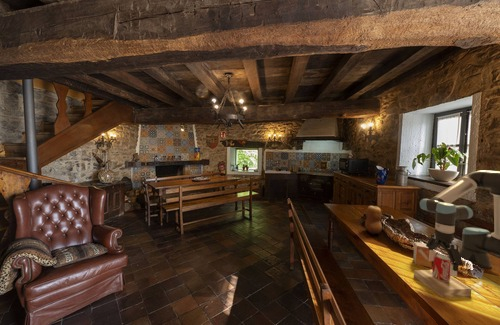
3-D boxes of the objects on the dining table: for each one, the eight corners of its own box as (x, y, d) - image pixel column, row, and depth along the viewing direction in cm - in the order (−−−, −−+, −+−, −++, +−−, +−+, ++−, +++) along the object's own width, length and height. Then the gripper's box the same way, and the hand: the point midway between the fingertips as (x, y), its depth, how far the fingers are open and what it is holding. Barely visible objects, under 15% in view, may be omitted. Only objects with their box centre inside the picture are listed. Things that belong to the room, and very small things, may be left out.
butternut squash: (385, 236, 169) (386, 208, 168) (369, 236, 170) (371, 208, 168) (375, 229, 183) (376, 204, 182) (361, 229, 184) (362, 204, 182)
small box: (415, 264, 127) (416, 245, 126) (413, 259, 133) (414, 241, 132) (431, 268, 123) (432, 248, 122) (428, 263, 129) (429, 244, 128)
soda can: (431, 273, 112) (432, 251, 111) (448, 278, 107) (450, 256, 106) (432, 279, 106) (434, 257, 106) (451, 285, 102) (453, 261, 101)
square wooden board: (439, 276, 115) (439, 269, 115) (470, 296, 99) (471, 288, 99) (414, 276, 115) (414, 270, 114) (442, 297, 99) (442, 289, 98)
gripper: (419, 222, 118) (417, 255, 119) (458, 241, 93) (455, 282, 94) (433, 222, 117) (431, 256, 118) (475, 242, 92) (472, 283, 94)
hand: (441, 267), depth 106 cm, fingers open, 13 cm apart
